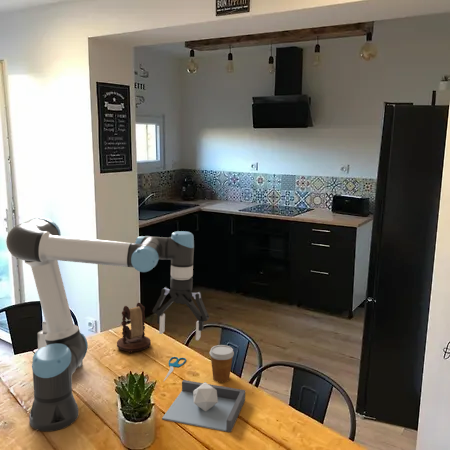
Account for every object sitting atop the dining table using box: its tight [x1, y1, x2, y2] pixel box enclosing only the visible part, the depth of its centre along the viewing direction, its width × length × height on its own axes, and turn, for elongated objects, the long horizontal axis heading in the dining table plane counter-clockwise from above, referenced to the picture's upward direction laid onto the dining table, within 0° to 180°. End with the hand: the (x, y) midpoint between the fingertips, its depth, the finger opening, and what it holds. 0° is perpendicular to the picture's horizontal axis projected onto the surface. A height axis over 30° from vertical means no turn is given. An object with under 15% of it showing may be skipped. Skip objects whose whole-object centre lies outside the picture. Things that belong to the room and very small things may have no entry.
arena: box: [161, 379, 246, 433], centre depth 158 cm, size 20×24×4 cm
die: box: [193, 382, 218, 411], centre depth 159 cm, size 8×9×10 cm
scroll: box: [116, 302, 151, 354], centre depth 204 cm, size 15×15×20 cm
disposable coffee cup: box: [208, 344, 235, 383], centre depth 179 cm, size 10×10×12 cm
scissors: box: [163, 356, 187, 382], centre depth 186 cm, size 7×1×20 cm
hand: (179, 335), depth 161 cm, fingers open, 13 cm apart
